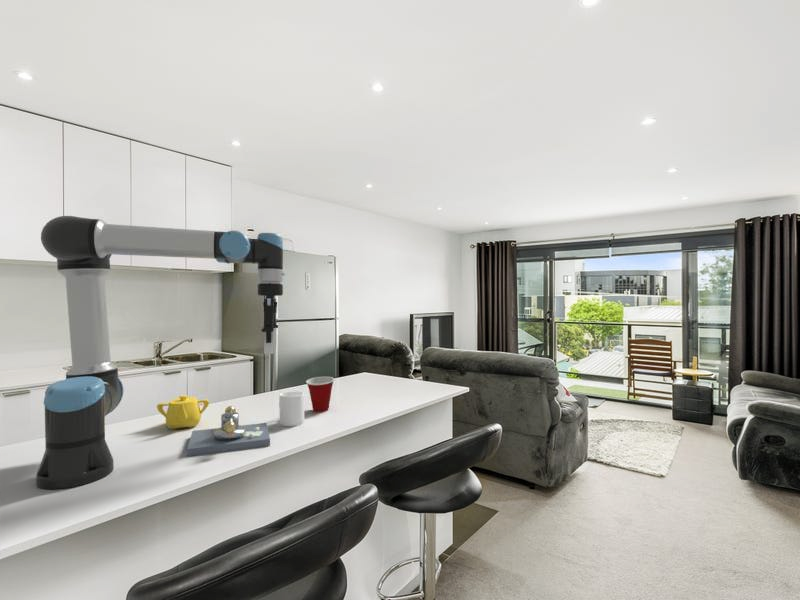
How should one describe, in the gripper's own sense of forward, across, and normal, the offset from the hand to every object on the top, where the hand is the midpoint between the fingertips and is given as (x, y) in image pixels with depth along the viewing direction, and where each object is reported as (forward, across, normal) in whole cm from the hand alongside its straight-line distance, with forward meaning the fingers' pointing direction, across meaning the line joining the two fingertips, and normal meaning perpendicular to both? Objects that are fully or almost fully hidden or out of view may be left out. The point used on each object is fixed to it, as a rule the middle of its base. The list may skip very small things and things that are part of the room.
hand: (270, 350), depth 133 cm
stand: (+27, -2, +12) cm, 29 cm away
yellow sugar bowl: (+27, +19, +30) cm, 44 cm away
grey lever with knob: (+25, -2, +12) cm, 28 cm away
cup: (+27, +14, -5) cm, 31 cm away
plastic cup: (+27, +27, -17) cm, 42 cm away
